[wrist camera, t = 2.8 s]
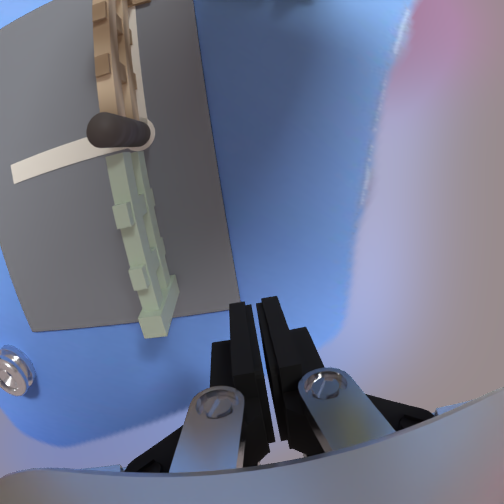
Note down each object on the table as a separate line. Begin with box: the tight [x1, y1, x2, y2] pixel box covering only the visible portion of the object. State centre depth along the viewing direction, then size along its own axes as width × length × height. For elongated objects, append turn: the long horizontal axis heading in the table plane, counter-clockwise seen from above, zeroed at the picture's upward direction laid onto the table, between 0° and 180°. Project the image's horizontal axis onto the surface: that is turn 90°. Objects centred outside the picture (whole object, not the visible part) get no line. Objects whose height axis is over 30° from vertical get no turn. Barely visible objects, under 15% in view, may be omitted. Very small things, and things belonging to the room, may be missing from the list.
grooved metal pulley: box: [0, 345, 36, 396], centre depth 24 cm, size 5×3×5 cm
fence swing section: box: [105, 151, 180, 339], centre depth 19 cm, size 10×1×6 cm, turn 8°
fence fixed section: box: [86, 0, 151, 148], centre depth 15 cm, size 13×4×7 cm, turn 8°
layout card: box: [0, 0, 241, 332], centre depth 20 cm, size 20×28×1 cm
